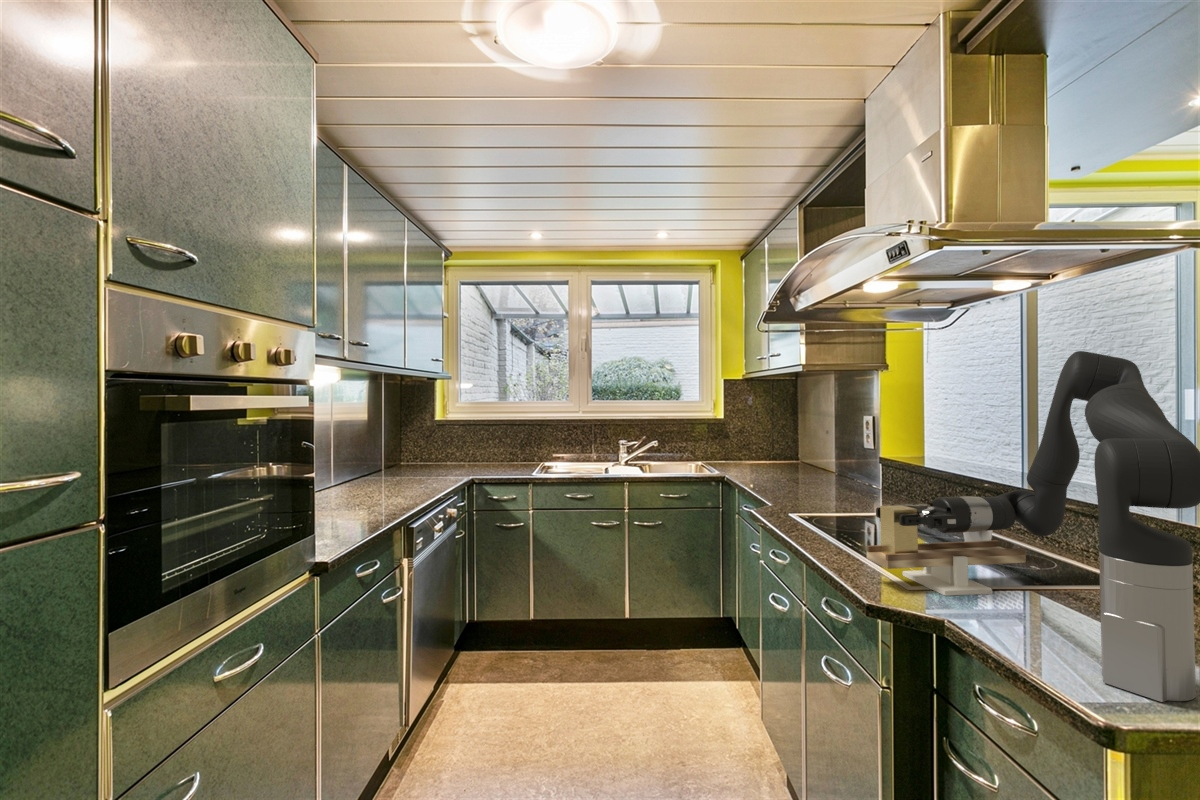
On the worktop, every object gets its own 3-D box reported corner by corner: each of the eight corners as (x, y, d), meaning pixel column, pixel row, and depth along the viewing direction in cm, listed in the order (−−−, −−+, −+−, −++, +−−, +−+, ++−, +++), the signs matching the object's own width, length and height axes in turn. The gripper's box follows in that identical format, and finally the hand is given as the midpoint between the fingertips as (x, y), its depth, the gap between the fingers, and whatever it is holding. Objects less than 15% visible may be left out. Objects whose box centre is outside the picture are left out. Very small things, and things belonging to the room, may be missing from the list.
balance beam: (996, 552, 128) (996, 540, 128) (1025, 562, 120) (1025, 549, 120) (866, 558, 126) (866, 545, 126) (888, 568, 118) (887, 555, 118)
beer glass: (956, 555, 146) (954, 496, 146) (986, 556, 145) (985, 496, 145) (969, 563, 139) (967, 500, 139) (1000, 563, 138) (999, 500, 138)
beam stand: (944, 573, 130) (944, 542, 130) (992, 593, 116) (991, 558, 116) (902, 575, 129) (902, 544, 129) (945, 595, 115) (944, 560, 115)
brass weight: (903, 551, 125) (902, 505, 125) (918, 557, 120) (916, 509, 120) (881, 552, 124) (880, 506, 124) (895, 558, 119) (893, 510, 119)
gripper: (938, 491, 130) (869, 493, 129) (985, 502, 116) (908, 504, 115) (938, 525, 130) (869, 527, 129) (986, 539, 116) (909, 542, 115)
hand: (888, 516), depth 122 cm, fingers open, 8 cm apart
